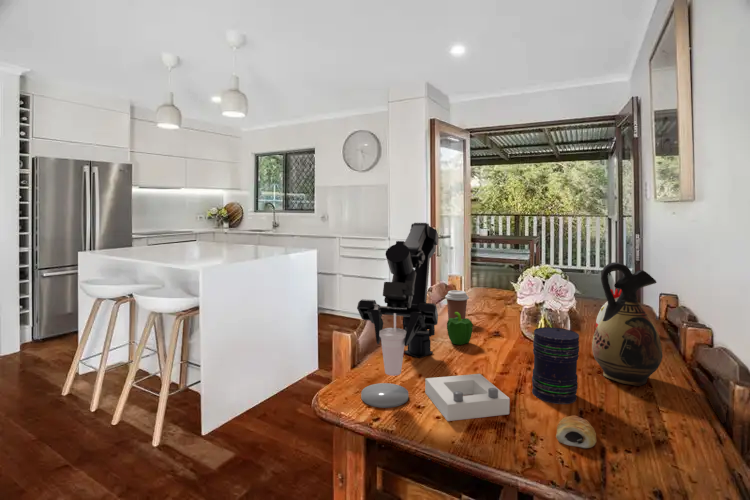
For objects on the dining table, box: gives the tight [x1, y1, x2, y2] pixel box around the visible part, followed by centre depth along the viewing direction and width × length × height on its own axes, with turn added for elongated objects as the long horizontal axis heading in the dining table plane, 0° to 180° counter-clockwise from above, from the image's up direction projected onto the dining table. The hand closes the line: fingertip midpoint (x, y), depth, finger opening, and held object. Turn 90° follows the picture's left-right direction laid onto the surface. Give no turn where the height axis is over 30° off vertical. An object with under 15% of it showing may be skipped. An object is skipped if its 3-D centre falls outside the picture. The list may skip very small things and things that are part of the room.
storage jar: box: [531, 326, 580, 405], centre depth 97 cm, size 10×10×15 cm
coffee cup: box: [444, 289, 470, 321], centre depth 164 cm, size 9×9×12 cm
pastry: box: [555, 414, 597, 449], centre depth 80 cm, size 9×7×4 cm
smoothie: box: [379, 313, 407, 377], centre depth 95 cm, size 6×6×14 cm
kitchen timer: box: [595, 288, 622, 328], centre depth 153 cm, size 14×14×15 cm
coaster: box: [360, 382, 409, 409], centre depth 97 cm, size 11×11×1 cm
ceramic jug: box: [591, 261, 664, 387], centre depth 107 cm, size 17×15×30 cm
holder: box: [424, 373, 511, 422], centre depth 94 cm, size 14×14×5 cm
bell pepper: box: [446, 312, 474, 345], centre depth 137 cm, size 8×8×10 cm
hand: (391, 344), depth 94 cm, fingers closed on smoothie, 6 cm apart
